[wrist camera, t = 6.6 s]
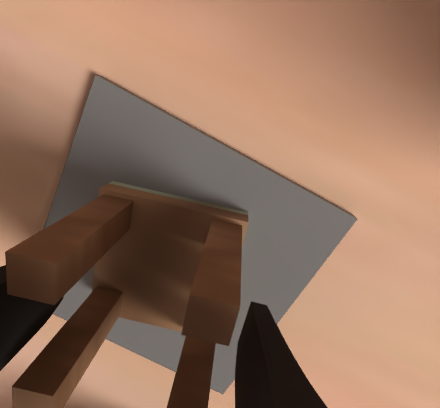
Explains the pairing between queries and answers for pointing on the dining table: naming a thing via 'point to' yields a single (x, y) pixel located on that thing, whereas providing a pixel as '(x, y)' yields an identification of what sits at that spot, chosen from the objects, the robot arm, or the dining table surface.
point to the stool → (132, 285)
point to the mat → (202, 191)
